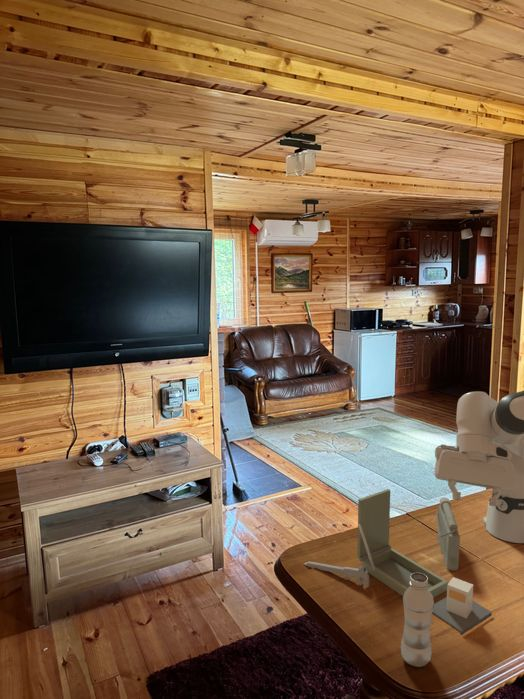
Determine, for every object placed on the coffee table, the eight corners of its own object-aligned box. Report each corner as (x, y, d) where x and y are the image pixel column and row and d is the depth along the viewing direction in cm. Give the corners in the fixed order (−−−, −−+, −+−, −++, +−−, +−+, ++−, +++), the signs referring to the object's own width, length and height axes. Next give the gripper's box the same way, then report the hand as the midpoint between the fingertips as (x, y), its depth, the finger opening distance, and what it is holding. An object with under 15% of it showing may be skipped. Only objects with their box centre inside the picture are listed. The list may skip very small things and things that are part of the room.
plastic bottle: (394, 655, 112) (396, 573, 108) (417, 645, 114) (420, 565, 111) (413, 675, 106) (417, 590, 103) (438, 664, 109) (441, 581, 106)
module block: (451, 601, 128) (453, 577, 127) (471, 610, 124) (473, 584, 123) (445, 610, 124) (447, 584, 123) (466, 619, 121) (467, 592, 120)
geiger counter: (465, 528, 139) (450, 489, 163) (441, 525, 140) (429, 488, 165) (462, 573, 141) (447, 529, 165) (438, 571, 143) (427, 527, 167)
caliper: (369, 589, 135) (369, 567, 134) (367, 591, 134) (368, 569, 133) (305, 564, 147) (305, 544, 146) (303, 565, 146) (303, 546, 145)
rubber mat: (456, 594, 132) (456, 591, 132) (491, 615, 124) (491, 612, 124) (426, 611, 126) (427, 607, 125) (461, 635, 117) (461, 631, 117)
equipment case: (386, 553, 151) (387, 488, 148) (447, 591, 133) (451, 518, 130) (355, 567, 145) (356, 500, 141) (415, 609, 126) (418, 533, 123)
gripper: (439, 440, 130) (439, 493, 125) (517, 453, 130) (520, 507, 124) (431, 446, 136) (430, 497, 130) (505, 458, 135) (508, 510, 130)
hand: (474, 502), depth 127 cm, fingers open, 8 cm apart
